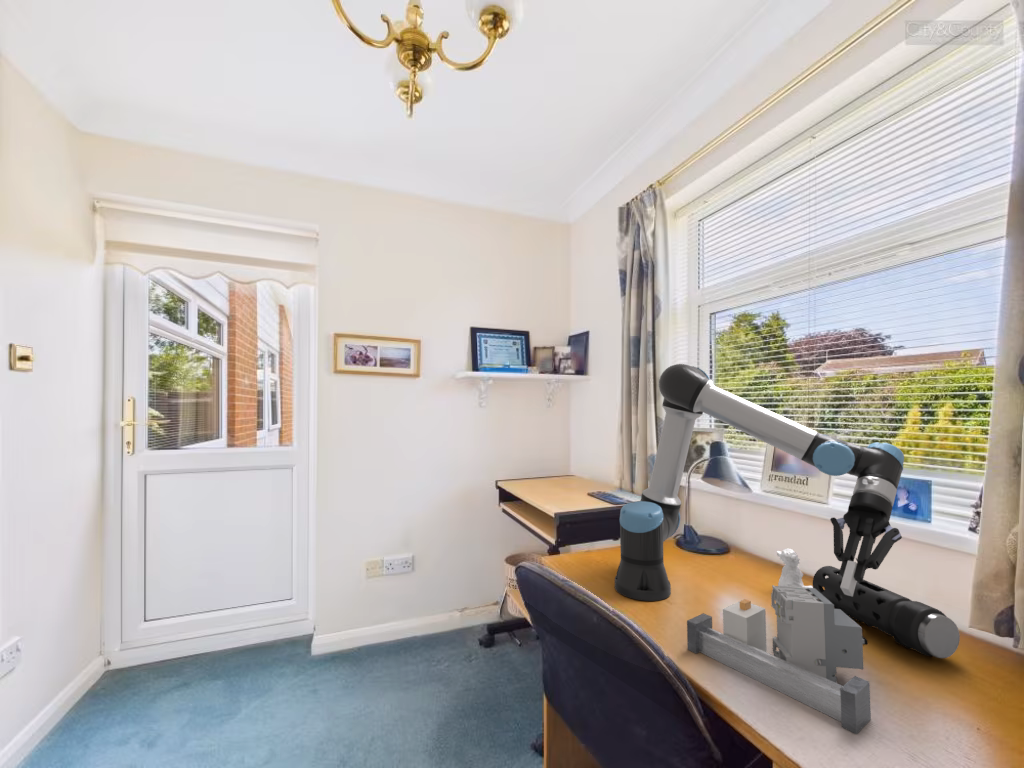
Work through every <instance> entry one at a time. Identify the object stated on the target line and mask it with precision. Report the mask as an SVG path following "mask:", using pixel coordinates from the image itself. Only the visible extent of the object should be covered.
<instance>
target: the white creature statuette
mask: <svg viewBox="0 0 1024 768" xmlns="http://www.w3.org/2000/svg"><path fill="white" fill-rule="evenodd" d="M776 556H777V557H779V560H781V561H782V562H783V564H784V565H783V567H782V569H781V574H780V577H779V580H778V583H777V584H778V585H777V586H792V587H806V588H813V585H804V584H805V583H804V582H803V576H804V573H803V572H802V571H801V568H800V566H799V564H800V561H801V559H800V558H799V556H798V554H797V553H796V551H795V550H794V549H792V548H788V547H787V548H784V549H782V551H779V550H776Z"/></svg>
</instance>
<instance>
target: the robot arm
mask: <svg viewBox="0 0 1024 768" xmlns="http://www.w3.org/2000/svg"><path fill="white" fill-rule="evenodd" d="M658 390H659V392H660V394H661V396H662V397H663V401H662V405H661V407H662V408H663V410H664V412H665V415H664V420H663V425H662V428H661V429H662V430H661V433H660V438H659V441H658V446H657V450H656V455H655V459H654V464H653V467H652V473H651V476H650V480H649V486H648V487H647V488H646V489H643V490H642V491H641V497H640V499H639V500H638V501H633V502H631V501H630V502H628V503H626V504H624V505H623V506H622V507H621V508H620V513H619V537H620V538H619V539H620V547H619V548H620V560H619V564H618V568H617V572H616V575H615V577H614V589H615V591H616V592H617V593H618V594H620V595H622V596H623V597H627V598H630V599H633V600H637V601H645V602H653V601H657V602H658V601H661V600H665V599H668V598H669V597H670V596H671V594H672V591H671V589H672V588H671V582H670V580H669V577H668V573H667V570H666V567H665V564H664V561H665V560H664V542H665V541H666V540H667V539H669V538H670V537H672V536H673V535H675V534H676V532H677V530H678V529H679V528H680V527H679V526H680V525H681V514H680V511H681V510H680V509H681V505H682V500H681V499H680V497H679V496H678V495H679V491H680V486H681V482H682V479H683V473H684V470H685V465H686V461H687V457H688V454H689V449H690V446H691V445H690V444H691V440H692V435H693V431H694V428H695V423H696V420H697V419H698V418H700V417H701V416H703V415H704V414H706V415H708V416H709V417H712V418H714V419H716V420H718V421H719V422H722V423H725V424H727V425H729V426H731V427H733V428H735V429H737V430H739V431H741V432H743V433H745V434H748V435H749V436H751V437H753V438H755V439H758V440H760V441H762V442H764V443H765V444H768V445H770V446H772V447H774V448H776V449H778V450H780V451H782V452H785V453H787V454H788V455H790V456H793V457H795V458H797V459H799V460H801V461H803V462H805V463H806V464H809V465H810V466H813V467H815V468H816V469H817V470H818V471H819V472H821V473H823V474H825V475H828V476H832V477H838V476H844V475H846V474H849V475H850V476H853V477H854V476H855V477H856V478H857V479H856V482H855V485H854V489H853V492H852V494H851V498H850V501H849V504H848V508H847V512H845V513H844V514H843V516H842V517H840V518H836V517H831V518H830V519H829V520H830V523H831V524H832V526H833V527H832V528H833V554H834V555H835V557H836V560H837V561H838V562H841V564H840V565H841V566H840V568H839V569H840V574H841V576H842V577H843V579H842V583H841V586H840V588H841V589H842V591H843V593H844V594H845V595H848V596H852V597H853V594H854V590H855V586H856V583H857V581H859V582H862V581H863V580H864V578H865V573H866V570H868V569H872V570H878V569H879V567H880V566H881V564H882V563H883V561H884V560H885V558H886V557H887V556H888V554H889V552H890V551H891V549H892V547H893V546H894V544H895V543H897V542H898V541H900V540H901V539H902V538H903V537H902V534H901V532H900V530H899V529H898V528H897V527H892V526H891V524H890V520H891V515H892V512H893V507H894V504H895V500H896V495H897V492H898V491H897V490H898V487H899V484H900V481H901V477H902V473H903V471H904V461H905V455H904V452H903V451H902V450H901V449H900V448H899V447H897V446H896V445H893V444H891V443H887V442H883V443H881V442H878V441H877V442H873V443H870V444H869V445H867V447H866V446H861V445H859V444H855V443H851V442H848V441H845V440H842V439H840V438H837V437H834V436H830V435H828V434H823V433H821V432H818V431H817V430H815V429H814V430H813V429H811V428H809V427H807V426H805V425H803V424H800V423H799V422H795V421H794V420H792V419H789V418H788V417H785V416H782V415H780V414H778V413H776V412H774V411H771V410H770V409H767V408H765V407H763V406H761V405H758V404H755V403H753V402H751V401H750V400H747V399H745V398H743V397H740V396H738V395H736V394H734V393H731V392H730V391H727V390H725V389H722V388H720V387H718V386H716V385H715V384H714V381H713V380H712V379H710V377H709V375H708V374H707V373H706V372H705V371H704V370H703V369H702V368H699V367H696V366H693V365H692V366H691V365H688V364H685V363H684V364H683V363H676V364H673V365H670V366H669V367H667V368H666V369H665V370H663V372H662V373H661V375H660V377H659V379H658ZM703 413H704V414H703ZM845 524H846V526H847V528H848V529H849V534H848V537H847V541H846V544H845V547H844V532H843V530H844V528H845ZM881 535H883V536H882V537H881V539H880V540H879V542H878V543H877V545H876V546H875V548H873V547H874V544H875V543H876V540H877V537H879V536H881ZM861 540H862V541H861ZM860 542H861V544H860ZM859 544H860V548H859V551H858V555H857V557H856V554H857V550H858V547H859ZM872 550H873V551H872ZM854 560H856V561H857V562H856V561H854Z"/></svg>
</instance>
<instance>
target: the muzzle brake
mask: <svg viewBox="0 0 1024 768" xmlns="http://www.w3.org/2000/svg"><path fill="white" fill-rule="evenodd" d="M842 579H843V577H842V576H841V574H840V568H837V567H835V566H832V565H825V566H822V567H820V568H819V569H818V570H817V571H816V572H815V573H814V576H813V578H812V586H813V588H815V589H816V590H817V591H819V592H820V593H821V594H822V595H823V596H824V597H826V598H827V599H828V600H829V601H830V602H831V603H832V604H834V609H841V610H842V611H843V612H844V613H845V614H846V615H848V616H849V617H850V618H851V619H853V620H856V621H858V622H860V623H864V624H865V625H867V627H869V628H875V629H877V630H879V631H881V632H882V633H885V634H887V635H888V636H890V637H893V640H894V641H895V643H897V644H900V645H901V646H903V647H904V648H906V649H907V650H914V651H917V652H918V653H920V654H921V655H924V656H928V657H935V658H938V659H947V658H949V657H951V656H953V655H954V654H955V653H956V651H957V650H958V647H959V645H960V639H961V638H960V636H961V635H960V630H959V628H958V626H957V624H956V623H955V621H954V620H953V619H951V618H950V617H948V616H947V615H946V614H945V613H944V612H943V611H941V610H940V609H938V608H935V607H933V606H930V605H928V604H925V603H924V602H921V601H917V600H912V599H910V598H908V597H905V596H903V595H901V594H898V593H896V592H894V591H891V590H888V589H886V588H884V587H882V586H879V585H877V584H875V583H873V582H870V581H867V580H865V579H863V581H862V582H859V581H857V583H856V586H855V590H854V594H853V597H852V596H848V595H845V594H844V593H843V591H842V589H841V588H840V586H841V583H842Z"/></svg>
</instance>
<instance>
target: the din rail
mask: <svg viewBox="0 0 1024 768" xmlns="http://www.w3.org/2000/svg"><path fill="white" fill-rule="evenodd" d="M686 632H687V634H686V636H687V637H686V638H687V639H686V641H687V650H688V651H690V652H692V653H694V654H696V655H697V654H698V653H701V654H702V655H705V656H706V657H709V658H711V659H713V660H715V661H716V662H718V663H721V664H723V665H725V666H727V667H729V668H732V669H733V670H735V671H738V672H739V673H741V674H743V675H746V676H747V677H749V678H751V679H753V680H755V681H757V682H760V683H761V684H764V685H766V686H767V687H770V688H772V689H773V690H775V691H778V692H779V693H781V694H783V695H786V696H788V697H790V698H792V699H794V700H795V701H798V702H800V703H802V704H804V705H805V706H807V707H810V708H812V709H814V710H816V711H818V712H820V713H823V714H824V715H826V716H828V717H830V718H833V719H835V720H837V721H838V722H840V723H841V728H843V729H845V730H847V731H849V732H851V733H853V734H855V735H858V734H859V732H860V731H861V730H863V729H864V727H865V726H867V724H869V722H870V721H871V720H872V713H871V691H870V690H871V689H870V688H871V687H870V681H868V680H866V679H864V678H861V677H859V676H856V675H854V676H853V677H852V678H851V679H849V680H848V681H847V682H846V683H845V684H843V685H842V684H840V683H838V682H837V683H835V682H833V681H831V680H828V679H826V678H824V677H821V676H819V675H817V674H815V673H812V672H810V671H808V670H805V669H803V668H801V667H799V666H796V665H794V664H792V663H789V662H787V661H785V660H783V659H780V658H778V657H776V656H774V654H770V653H769V652H767V653H766V652H764V651H762V650H760V649H757V648H755V647H753V646H750V645H748V644H746V643H744V642H741V641H739V640H737V639H734V638H732V637H730V636H728V635H725V634H723V632H720V631H719V630H716V629H714V628H713V616H711V615H709V614H707V613H701V614H699V615H696V616H694V617H692V618H690V619H687V620H686Z"/></svg>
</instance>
